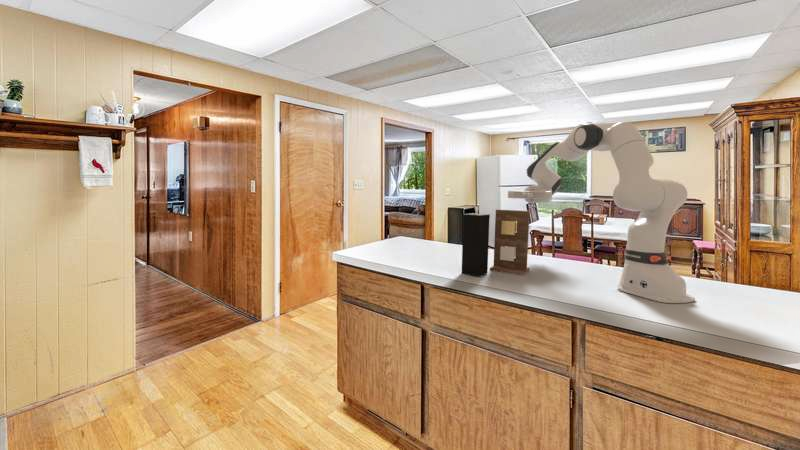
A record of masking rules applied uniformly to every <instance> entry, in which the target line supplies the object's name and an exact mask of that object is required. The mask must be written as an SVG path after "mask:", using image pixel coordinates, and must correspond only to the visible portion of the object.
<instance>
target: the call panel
mask: <svg viewBox="0 0 800 450" xmlns="http://www.w3.org/2000/svg"><path fill="white" fill-rule="evenodd" d="M530 213H531V212H530V210H514V209H499V208H498V209H495V219H494V220H495V222H494V224H495V225H494V241H493V242H494V249H493V266H490V267H489V271H493V272H499V273H507V274H513V275H519V276H525V274H527V273H528V272H529V271H530V267H528V255H529V254H528V253H529V235H530V234H529V233H530V232H529V230H530ZM502 221H516V222H517V232H515V235H508V234H501V223H502ZM501 246H503V247H516V257H515V258H514V261H507V260H500V248H501Z"/></svg>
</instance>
